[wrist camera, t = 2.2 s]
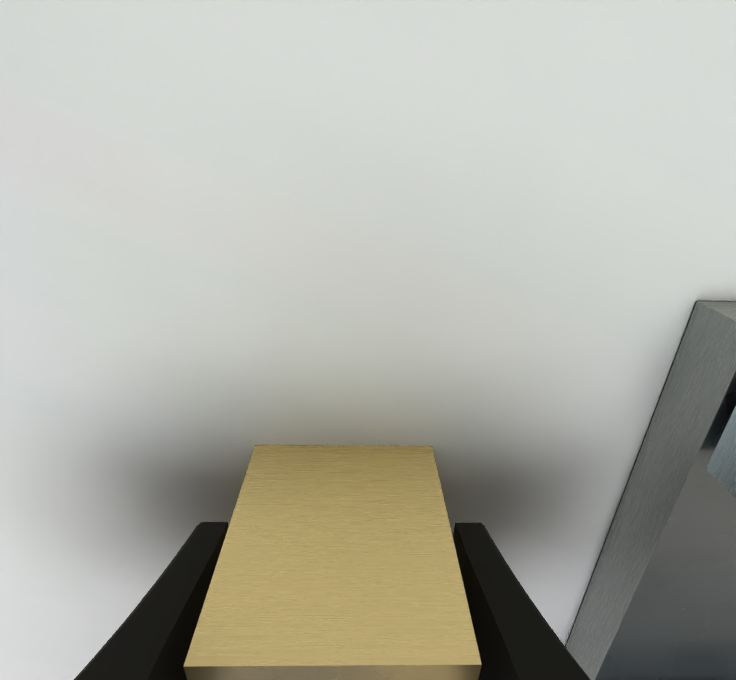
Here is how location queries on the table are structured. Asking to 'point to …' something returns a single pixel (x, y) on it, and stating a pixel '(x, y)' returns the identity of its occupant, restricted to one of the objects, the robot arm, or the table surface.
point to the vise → (674, 529)
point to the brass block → (337, 573)
